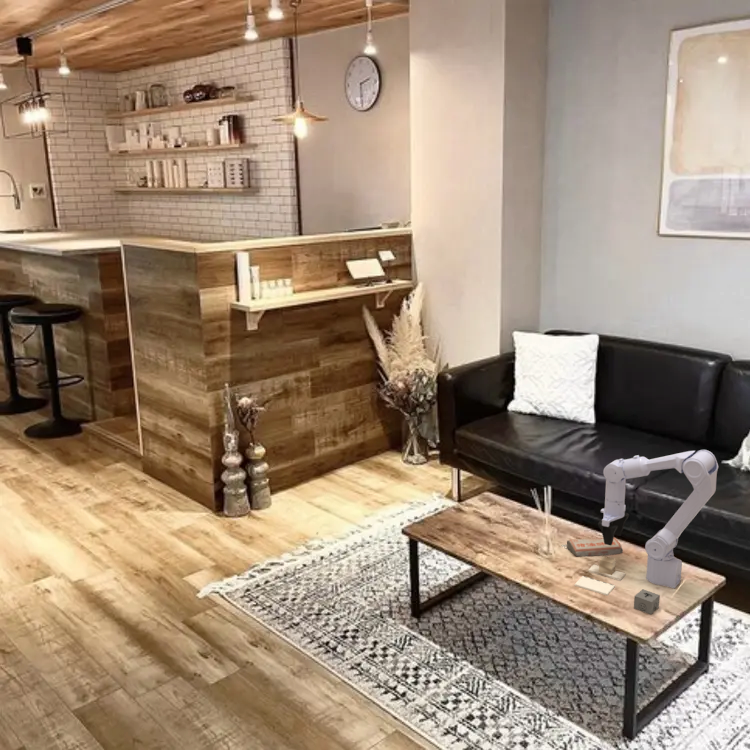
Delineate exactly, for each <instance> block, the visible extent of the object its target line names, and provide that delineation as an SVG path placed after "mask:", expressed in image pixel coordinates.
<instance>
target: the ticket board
mask: <svg viewBox="0 0 750 750" xmlns="http://www.w3.org/2000/svg"><path fill="white" fill-rule="evenodd" d="M574 587H578V588H580V589H583V590H587V591H590V592H592V593H593V592H594V593H597V594H600V595H603V596H609V595H610V594H611V592H612V591H613V590H614V589H615V588H616V585H615V584H612V583H608V582H605V581H602V580H599V579H595V578H592V577H588V576H584V575H582V576H581V577H580V578H579V579H578V580H577V581H576V582H575V583H574Z"/></svg>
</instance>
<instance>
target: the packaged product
mask: <svg viewBox="0 0 750 750" xmlns="http://www.w3.org/2000/svg"><path fill="white" fill-rule="evenodd" d="M561 547H562V548H564V549H565V550H568V551H570V553H572V554H573V555H574V556H575V557H580V558H581V557H599V556H601V557H602V556H611V555H612V556H614V555H619V554H620V555H621V554H622V553H623V551H624V549H623V547H622V544H621V543H620V542H619V540H618V539H617V538H616V537H614V538H613V542H612V545H607V544H604V539H603V537H596V538H595V537H594V538H593V537H591V538H575V539H574V538H571V539H568V540H566V544H561Z"/></svg>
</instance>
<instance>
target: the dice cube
mask: <svg viewBox="0 0 750 750" xmlns="http://www.w3.org/2000/svg"><path fill="white" fill-rule="evenodd" d="M633 597H634V598H633V599H634V600H633V609H634V610H637V611H640V612H643V613H645V614H648V615H653V613H655V612H656V611H657V610H658V609H659V608H660V594H658V593H655V592H652V591H649V590H647V589H641V590H640V591H638V592H637V593H636V594H635V595H634V596H633Z"/></svg>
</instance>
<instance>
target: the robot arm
mask: <svg viewBox="0 0 750 750" xmlns="http://www.w3.org/2000/svg"><path fill="white" fill-rule="evenodd" d="M669 469H670V470H671V469H675V470H676V471H677V472H678V473H680V474H684V475H685V477H686V479H687V480H688V481H689V482H690V484H691V485H692V488H693V491H692V492H691V493H690V494H689V496H687V498H686V499H685V501H684V502H682V504H681V506H680V507H679V508H678V510H676V511H675V513H674V515H673V516H671V518H670V519H669V520H668V522H666V524H665V526H663V528H662V529H660V530H658V531H657V533H656V534H655V535H654V536H653V537H652V538H650V539H648V540H647V541H646V542H645V546H644V548H645V552H646V554H647V560H646V562H647V563H646V577H645V578H646V580H647V582H650V583H651V584H653V585H657V586H664V587H668V588H672V589H676V588H677V586H678V585H679V584H680V582H681V580H682V569H683V568H682V566H683V563H682V562H683V561H682V560H681V559H679V558H677V557H675V556H674V555H675V554H674V548H676V547H677V545H678V541H679V537H680V536H681V534H682V533H683V532H684V530H685V529H686V528H687V527H688V526H689V525H690V523H691V522H692V521H693V520H694V518H695V517H696V516H697V514H699V512H700V511H701V510H702V509H703V507H704V506H705V505H706V504H707V502H709V500H710V499H711V498H712V496H713V495H714V494H715V493H716V491H717V490H716V489H717V474H718V471H719V470H718V469H719V464H718V461H717V458H716V456H715V454H713V452H711V451H709V450H707V449H700V450H697V451H696V450H688V451H683V452H679V453H674V454H670V455H665V456H660V457H655V458H651V459H648V457H645V456H640V455H639V454H638V455H634V456H633V457H631V458H627V459H626V458H625V459H624V458H619V459H615V460H613V461H612V462H610V463H608V464H607V465H606V466H604V468H603V472H602V473H603V477H604V478H605V492H604V493H605V494H604V497H605V499H604V508H601V509H600V513H603V518H602V519H601V520H599V522H597V523H598V524H597V525H598V528H599V529H600V530H601V534H602V538H603V539H604V544H607V545H612V542H613V538H615V536H618V537H621V536H622V534H623V530H624V527H625V526H624V525H625V524H626V522H627V520H628V518H629V517H630V514H629V513H628V512H626V509H627V508H626V504H625V501H626V500H625V499H626V480H628V479H635V478H640V477H647V476H649V475H650V473H651V472H653V471H661V470H669Z"/></svg>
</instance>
